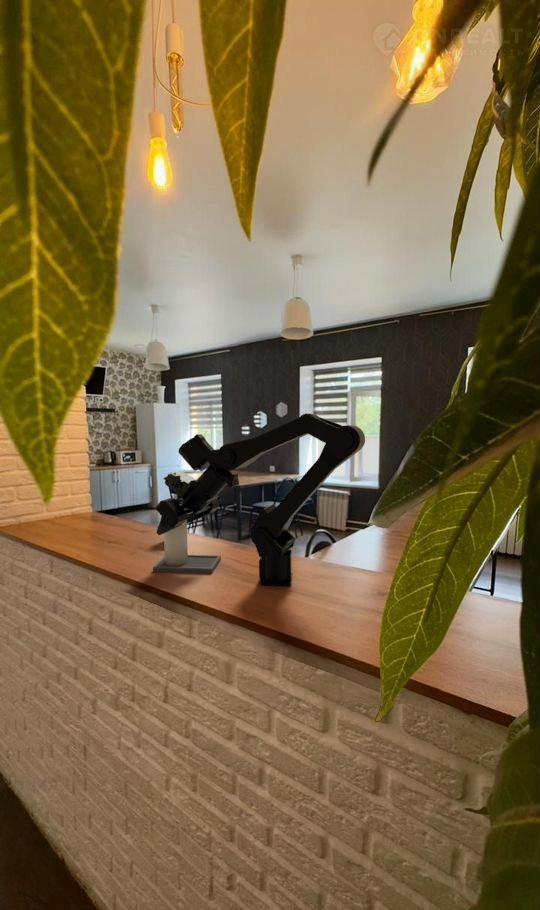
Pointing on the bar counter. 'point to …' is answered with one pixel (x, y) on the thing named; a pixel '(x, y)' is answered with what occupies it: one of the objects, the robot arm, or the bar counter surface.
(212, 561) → the bar mat
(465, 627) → the bar counter surface
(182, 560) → the tumbler
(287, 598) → the bar counter surface
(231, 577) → the bar counter surface
